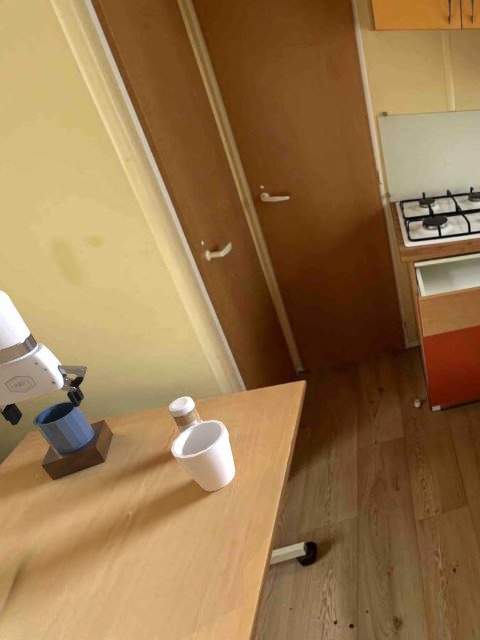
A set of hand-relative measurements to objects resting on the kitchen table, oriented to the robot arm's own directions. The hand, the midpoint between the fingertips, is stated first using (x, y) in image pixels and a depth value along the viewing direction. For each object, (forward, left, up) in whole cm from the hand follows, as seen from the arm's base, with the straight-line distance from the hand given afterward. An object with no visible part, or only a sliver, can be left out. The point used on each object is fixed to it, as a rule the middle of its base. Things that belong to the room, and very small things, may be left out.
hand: (49, 411), depth 91 cm
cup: (+1, 0, -10) cm, 10 cm away
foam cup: (+27, -23, -15) cm, 39 cm away
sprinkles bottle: (+23, -10, -15) cm, 30 cm away
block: (0, 0, -15) cm, 15 cm away
